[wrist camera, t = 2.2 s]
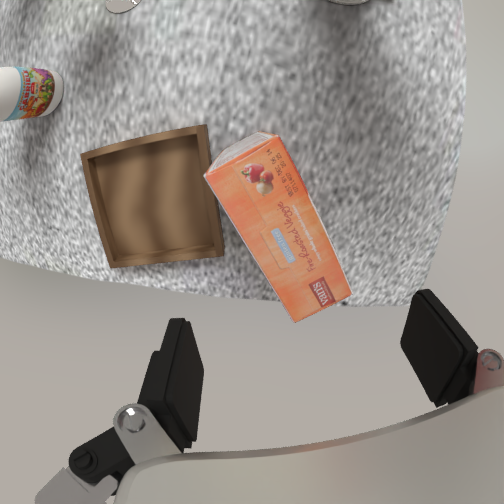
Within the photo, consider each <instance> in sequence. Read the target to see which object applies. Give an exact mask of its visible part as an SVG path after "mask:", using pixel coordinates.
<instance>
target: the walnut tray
mask: <svg viewBox="0 0 504 504" xmlns="http://www.w3.org/2000/svg"><path fill="white" fill-rule="evenodd" d="M80 155H81V160H82V165H83V170H84V175H85V180H86V184H87V189H88V193H89V197H90V201H91V205H92V209H93V213H94V217H95V220H96V224H97V227H98V231H99V234H100V238H101V241H102V244H103V247H104V250H105V254H106V257H107V260H108V263H109V266H110V268H118V267H128V266H137V265H146V264H155V263H165V262H174V261H183V260H192V259H202V258H211V257H220V256H224V249H225V246H224V240H223V233H222V227H221V221H220V214H219V208H218V201H217V198H216V196H215V194H214V193H213V191H212V189H211V188H210V186H209V185H208V183H207V181H206V180H205V178H204V174H205V173H206V171H207V170H208V169H209V167H210V166H211V164H212V160H211V152H210V145H209V138H208V130H207V124H205V125H198V126H192V127H186V128H181V129H176V130H171V131H166V132H161V133H156V134H152V135H147V136H143V137H139V138H135V139H131V140H127V141H123V142H119V143H115V144H112V145H108V146H105V147H101V148H98V149H95V150H91V151H88V152H85V153H82V154H80Z"/></svg>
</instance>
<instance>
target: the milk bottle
mask: <svg viewBox="0 0 504 504" xmlns="http://www.w3.org/2000/svg"><path fill="white" fill-rule="evenodd" d="M63 89H64V87H63V80H62V78H61V76H60V75H59V74H58V73H57V72H55V71H51V70H44V69H36V68H26V67H2V68H0V122H1V121H10V120H17V119H25V118H34V117H42V116H46V115H48V114H50V113H51V112H52V111H53V110H54V109H56V107H57V106H58V104H59V103H60V101H61V98H62V95H63Z"/></svg>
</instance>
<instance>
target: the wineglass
mask: <svg viewBox="0 0 504 504" xmlns="http://www.w3.org/2000/svg"><path fill="white" fill-rule="evenodd" d="M140 1H141V0H106V7H107V9H108V10H109V11H111V12H113V13H122V12H125V11H128V10H130V9H132V8H133V7H135V6H136V5H137V4H138V3H139V2H140Z"/></svg>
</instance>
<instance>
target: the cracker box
mask: <svg viewBox="0 0 504 504" xmlns="http://www.w3.org/2000/svg"><path fill="white" fill-rule="evenodd" d="M204 178H205V180H206V181H207V183H208V185H209V186H210V188H211V189H212V191H213V193H214V194H215V196H216V198H217V199H218V201H219V202H220V204H221V206H222V207H223V209H224V211H225V212H226V214H227V216H228V217H229V219H230V220H231V222H232V224H233V225H234V227H235V229H236V230H237V232H238V234H239V235H240V237H241V239H242V240H243V242H244V243H245V245H246V247H247V248H248V250H249V252H250V253H251V255H252V256H253V258H254V260H255V261H256V263H257V264H258V266H259V267H260V269H261V271H262V272H263V274H264V276H265V277H266V279H267V280H268V282H269V284H270V285H271V287H272V288H273V290H274V292H275V293H276V295H277V297H278V298H279V300H280V301H281V303H282V305H283V306H284V308H285V309H286V311H287V313H288V314H289V316H290V318H291V320H292V321H293V322H295V323H296V322H298V321H300V320H302V319H304V318H306V317H308V316H310V315H313V314H315V313H317V312H319V311H321V310H322V309H325V308H327V307H329V306H331V305H333V304H335V303H337V302H339V301H341V300H343V299H344V298H346V297H348V296H350V295H352V294H353V292H352V290H351V287H350V284H349V282H348V280H347V277H346V275H345V272H344V270H343V268H342V265H341V263H340V260H339V258H338V256H337V253H336V251H335V249H334V246H333V244H332V242H331V240H330V237H329V235H328V233H327V231H326V229H325V226H324V224H323V222H322V220H321V218H320V216H319V214H318V211H317V209H316V207H315V205H314V203H313V201H312V199H311V197H310V195H309V193H308V191H307V189H306V187H305V184H304V182H303V180H302V178H301V176H300V174H299V173H298V171H297V169H296V167H295V165H294V163H293V161H292V159H291V157H290V155H289V153H288V152H287V150H286V148H285V146H284V144H283V142H282V140H281V139H280V137H279V135H275V134H271V133H265V132H261V131H258V132H256V133H254V134H252V135H250V136H248V137H246V138H244V139H242V140H240V141H238V142H237V143H235V144H233V145H231V146H229V147H227V148H226V149H224V150H223V151H222V152H221V153H220V154H219V155H218V157H217V158H216V159H215V160H214V162H213V163H212V164H211V166H210V167H209V169H208V170H207V171H206V173H205V174H204Z"/></svg>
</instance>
